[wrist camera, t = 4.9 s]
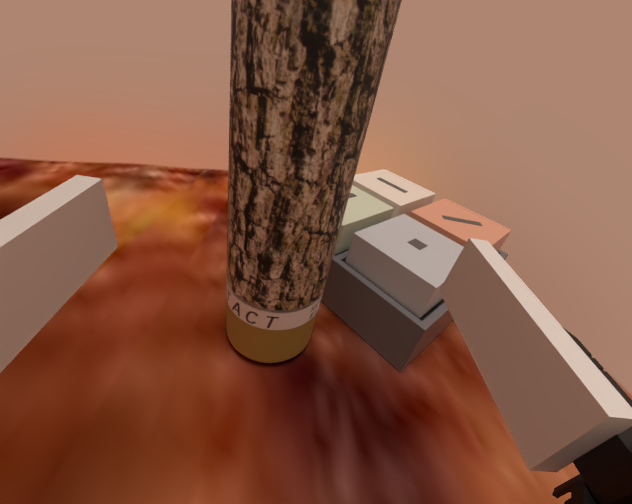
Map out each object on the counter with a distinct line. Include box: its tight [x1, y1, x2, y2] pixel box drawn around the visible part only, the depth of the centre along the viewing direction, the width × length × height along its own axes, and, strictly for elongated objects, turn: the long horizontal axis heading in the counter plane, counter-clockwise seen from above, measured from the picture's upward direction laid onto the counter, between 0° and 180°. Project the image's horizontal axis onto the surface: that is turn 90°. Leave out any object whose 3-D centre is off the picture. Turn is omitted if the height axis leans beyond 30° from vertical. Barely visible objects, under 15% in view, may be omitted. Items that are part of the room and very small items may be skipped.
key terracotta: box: [409, 198, 511, 252], centre depth 31 cm, size 8×8×3 cm
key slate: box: [345, 214, 464, 318], centre depth 25 cm, size 8×8×3 cm
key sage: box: [334, 185, 394, 255], centre depth 30 cm, size 8×8×3 cm
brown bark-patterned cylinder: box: [226, 0, 402, 363], centre depth 17 cm, size 7×7×25 cm
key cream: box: [352, 169, 436, 219], centre depth 35 cm, size 8×8×3 cm
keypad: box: [321, 249, 508, 372], centre depth 32 cm, size 18×18×5 cm
